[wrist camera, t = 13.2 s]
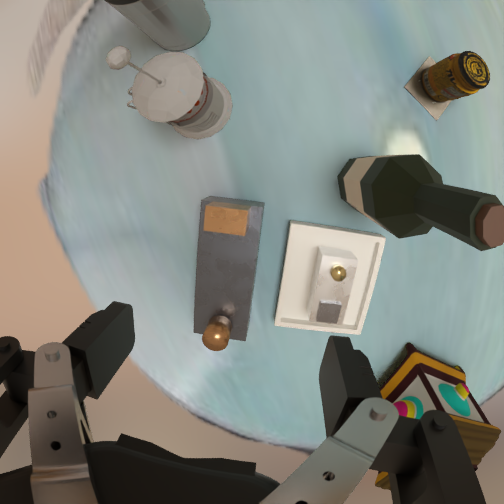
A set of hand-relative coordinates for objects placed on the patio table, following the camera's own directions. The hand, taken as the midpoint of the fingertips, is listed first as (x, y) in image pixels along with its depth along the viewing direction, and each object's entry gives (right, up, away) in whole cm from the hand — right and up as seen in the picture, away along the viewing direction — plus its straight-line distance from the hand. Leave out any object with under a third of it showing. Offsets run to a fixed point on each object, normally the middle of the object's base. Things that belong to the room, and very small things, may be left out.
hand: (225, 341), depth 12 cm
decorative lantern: (+33, -23, +39) cm, 56 cm away
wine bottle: (+17, +13, +30) cm, 37 cm away
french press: (-7, +25, +29) cm, 39 cm away
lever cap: (+13, -1, +33) cm, 36 cm away
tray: (+13, 0, +34) cm, 36 cm away
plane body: (-2, +2, +35) cm, 35 cm away
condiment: (+29, +29, +24) cm, 48 cm away
